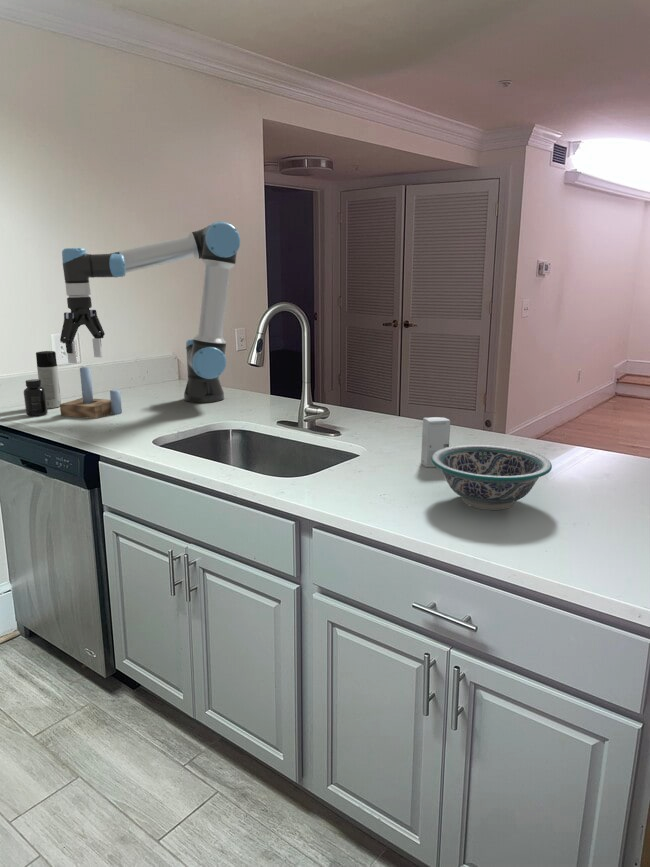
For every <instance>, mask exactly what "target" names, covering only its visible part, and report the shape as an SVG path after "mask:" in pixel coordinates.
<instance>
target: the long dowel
mask: <svg viewBox="0 0 650 867" xmlns="http://www.w3.org/2000/svg"><path fill="white" fill-rule="evenodd" d="M91 372H92V371H91V367H90V366H82V367H79V374H80V384H81V394H82V395H81V396H82V397H81V398H83V403H84V404H91V403H93V399H94V393H93V392H94V391H93V384H92V373H91Z"/></svg>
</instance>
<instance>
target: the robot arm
mask: <svg viewBox="0 0 650 867" xmlns="http://www.w3.org/2000/svg"><path fill="white" fill-rule="evenodd" d="M240 246H241V236H240V233H239V231H238V229H237V228H236V227H235V226H233V224H230V223H228V222H225V221H215V222H213V223H212V224H210V225H207V226H206V227H204V228H201V229H198V230H195V231H192V232H189V234H188V235H186V236H182V237H178V238H173V239H169V240H163V241H160V242H155V243H151V244H147V245H143V246H138V247H133V248H129V249H124V250H120V251H116V252H111V253H97V254H96V253H95V254H91V253H90V254H88V253H87V250H86V249H85V248H84V247H83V248H82V247H69V248H68V247H65V248H63V249H62V251H61V258H62V270H63V278H64V283H65V291H66V295H67V296H68V297H67V298H66V302H67V308H68V309H70V312H63V324H62V329H61V333H60V338H59V342H60V343H62V344H65V350H66V353H67V360H68V364H77V363H78V362H77V354H76V352H77V351H76V346H75V345H76V344H75V343H74V340H75V337H76V335H77V333H78V329H79V327H80V328H81V326H84V325H85V327H86V328H87V330H88V331H89V333H90V334H91V336H92V337H93V338H92V348H93V357H94V358H103V351H102V339H103V338H104V336H105V334H106V333H105V331H104V329H103V327H102V324H101V322H100V319H99V318H98V314H97V312H98V311H97V310H96V309H91V308H92V307H93V306H92V297H91V296H90V295H92V293H91V287H90V286H91V285H90V279H89V278H93V279H94V278H123V277H125V276H126V273H130V272H135V271H140V270H143V269H148V268H153V267H156V266H162V265H167V264H170V263H175V262H178V261H183V260H187V259H191V258H192V259H193V258H194V259H196V260H200V259H201V261H202V262H203V264H204V265H205V270H204V278H203V286H202V296H201V297H202V298H201V308H200V315H199V323H198V324H199V326H198V333H197V335H196V336H194V337H193V339H192V338H191V339H187V341H186V344H185V350H186V366H187V367H186V368H187V382H186V386H185V388H184V392H183V393H184V394H183V397H184V398H183V400H184V401H185V402H189V403H201V404H202V403H213V402H214V403H215V402H219V401H223V400H224V399H225V392H224V389H223V386H222V383H221V381H220V379H219V378H220V376H221V375H223V373H224V372H225V369H226V367H227V357H226V347H227V341H226V340H225V339H224V337H223V336H224V328H225V319H226V311H227V304H228V302H227V301H228V294H229V292H228V291H229V283H230V275H231V274H230V273H231V269H233V267H235V266H236V262H237V253H238V251H239V249H240Z"/></svg>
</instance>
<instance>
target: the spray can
mask: <svg viewBox="0 0 650 867" xmlns="http://www.w3.org/2000/svg"><path fill="white" fill-rule="evenodd" d="M35 358H36V368H37V376H38V377H37V379H40V380H41V387H43V388H44V389H45V393H46V402H47V409H50V408H51V409H58V408H60V404H62V398H61V390H60V389H61V388H60V380H59V371H58V364H57V363H58V362H57V353H56V351H53V350H44V351H42V350H41V351H37V352H35ZM57 407H58V408H57Z"/></svg>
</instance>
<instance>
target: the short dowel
mask: <svg viewBox="0 0 650 867" xmlns="http://www.w3.org/2000/svg"><path fill="white" fill-rule="evenodd" d="M121 395H122V394H121V389H112V390H109V396H110V397H109V398H110V400H111V410H112V413H111V415H115V414H116V415H121V413H122V414H123V409H122V408H123V407H122V396H121Z"/></svg>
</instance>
